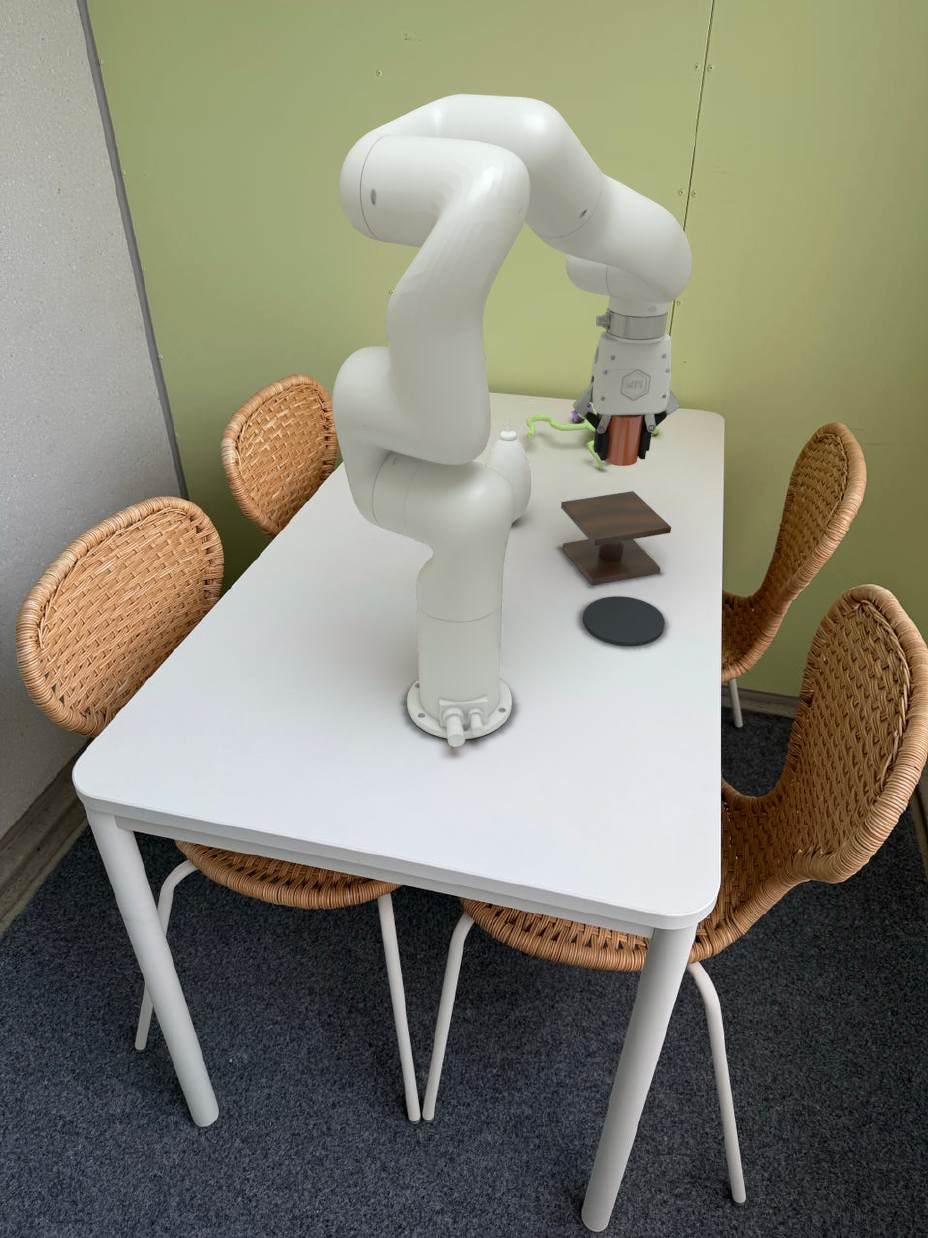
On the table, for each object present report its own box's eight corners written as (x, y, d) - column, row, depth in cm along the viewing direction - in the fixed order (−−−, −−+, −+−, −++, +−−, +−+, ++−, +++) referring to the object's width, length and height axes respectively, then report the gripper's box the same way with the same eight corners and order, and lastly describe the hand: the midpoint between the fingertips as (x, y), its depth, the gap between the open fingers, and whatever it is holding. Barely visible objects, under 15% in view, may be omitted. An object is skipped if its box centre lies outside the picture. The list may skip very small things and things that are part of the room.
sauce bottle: (528, 509, 145) (533, 406, 135) (530, 532, 139) (535, 426, 129) (482, 509, 146) (483, 406, 135) (481, 532, 139) (483, 426, 129)
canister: (641, 465, 120) (647, 417, 116) (607, 466, 120) (612, 418, 116) (632, 451, 124) (638, 404, 120) (599, 452, 124) (604, 405, 120)
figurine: (511, 448, 166) (512, 421, 162) (589, 408, 182) (591, 382, 179) (593, 476, 156) (595, 447, 153) (667, 431, 172) (671, 404, 169)
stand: (664, 574, 129) (671, 527, 124) (590, 587, 126) (595, 539, 121) (627, 536, 138) (633, 490, 134) (557, 547, 135) (561, 501, 131)
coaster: (674, 643, 115) (675, 639, 114) (592, 648, 114) (593, 644, 114) (651, 597, 124) (651, 594, 123) (575, 601, 123) (575, 598, 123)
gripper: (577, 333, 108) (566, 469, 118) (710, 331, 109) (687, 465, 119) (565, 317, 114) (555, 447, 124) (691, 314, 115) (671, 443, 126)
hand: (620, 454), depth 122 cm, fingers closed on canister, 4 cm apart
